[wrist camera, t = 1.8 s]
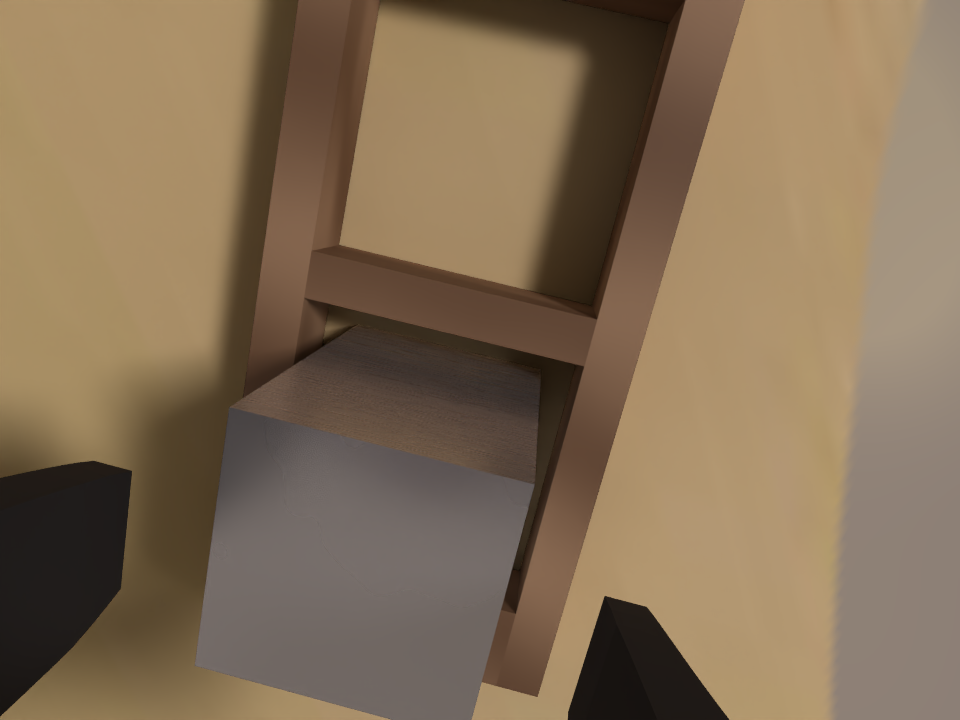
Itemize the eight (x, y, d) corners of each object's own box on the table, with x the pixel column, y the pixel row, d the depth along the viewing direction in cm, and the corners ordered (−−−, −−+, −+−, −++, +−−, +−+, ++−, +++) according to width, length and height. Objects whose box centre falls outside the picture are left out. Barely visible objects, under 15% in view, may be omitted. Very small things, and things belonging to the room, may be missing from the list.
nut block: (497, 536, 17) (466, 740, 10) (327, 492, 17) (195, 665, 11) (541, 369, 16) (534, 484, 9) (357, 324, 16) (229, 406, 9)
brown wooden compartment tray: (538, 646, 17) (537, 702, 15) (247, 568, 18) (209, 614, 16) (882, -533, 11) (951, -687, 9) (426, -613, 12) (401, -778, 10)
